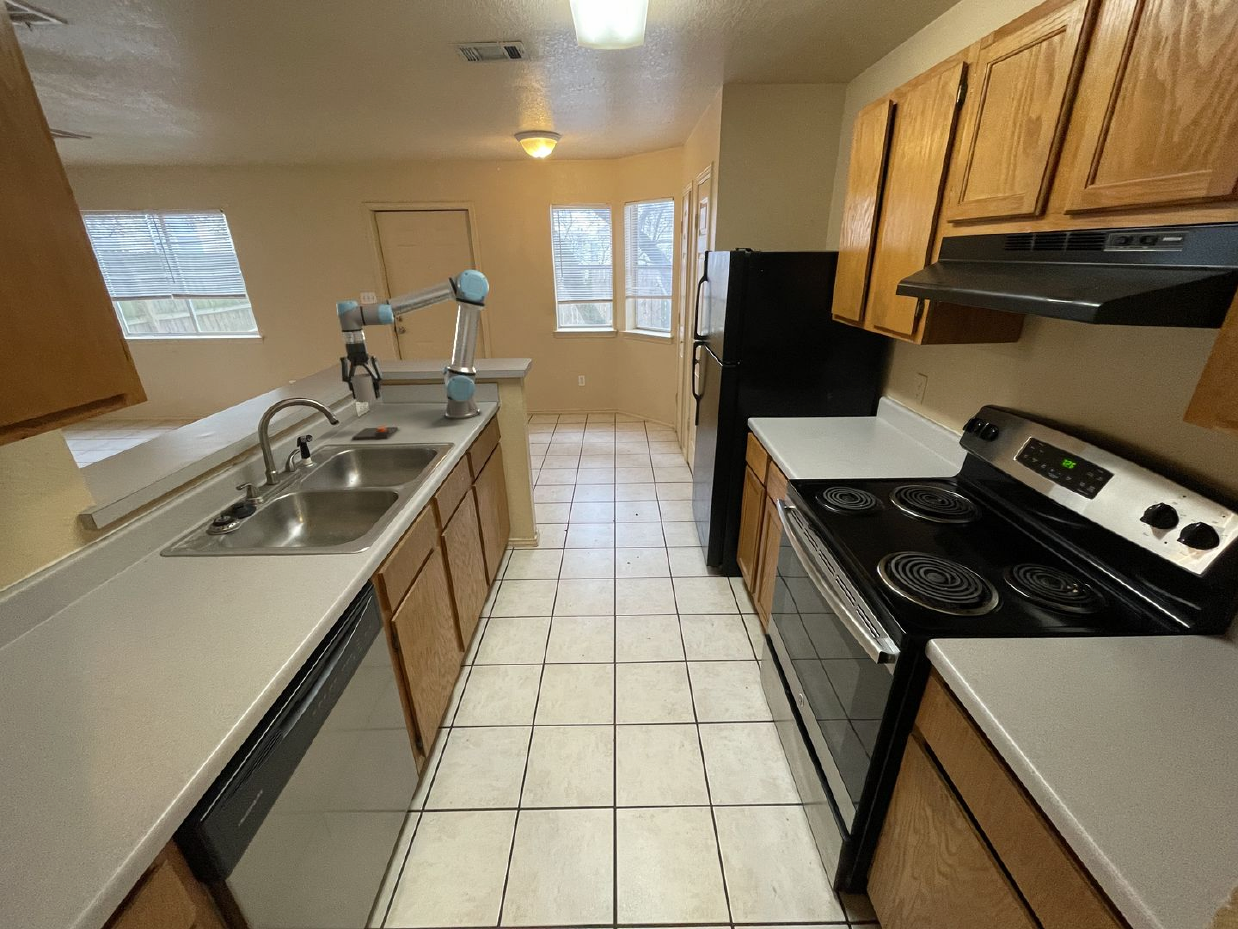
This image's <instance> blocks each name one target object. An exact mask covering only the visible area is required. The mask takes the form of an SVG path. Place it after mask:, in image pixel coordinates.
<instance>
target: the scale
mask: <svg viewBox="0 0 1238 929" xmlns="http://www.w3.org/2000/svg"><path fill="white" fill-rule="evenodd" d="M385 427H386V431H384V432H378V428H379V427H364V428H363V429H362V430H360V431H359V432H357V433H356V434H354V436H352V441H364V440H365V441H369V440H373V441H374V440H388V439H389V438H390V437H391V436H392V435H394V434H395V433H396V432H397V431H398V430H399V427H398V426H385Z"/></svg>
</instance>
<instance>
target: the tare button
mask: <svg viewBox="0 0 1238 929" xmlns="http://www.w3.org/2000/svg"><path fill="white" fill-rule="evenodd" d="M386 427H387V426H379V427H377V428H378V432H384V431H386Z"/></svg>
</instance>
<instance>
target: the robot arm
mask: <svg viewBox="0 0 1238 929" xmlns="http://www.w3.org/2000/svg"><path fill="white" fill-rule="evenodd" d="M489 285H490V284H489V282H488V279H487V277H486V276H485V274H483V273H482V272H480V271H479V270H476V269H465V270H462V271H461V272H459V273H457V274H455V275H453V276H450V277H447V279H446V280H445V281H443V282H440V283H439V282H438V283H436V284H433V285H429V286H427V287H423V288H420V289H417V290H413V291H410V292H407V293H404V294H401V295H397V296H395V297H392V298H388V299H385V300H382V301H376V302H373V303H372V304H371V305H359V304H358V302H357V301H356V300H343V301H338V302H337V303H336V312H337V317H338V321H339V325H340V326H339V327H340V329H341V335H342V338H343V342H344V343H345V344H344V346H345V347H344V348H345V352H346V356H341V357H340V358H339V361H340V363H341V382H343V383H347V385H348V389H349V391H350V392H351V393H352V397H353V400H356V397H355V393H354V388H353V384H352V379H351V377H353V376H354V375H356V369H357V367H359V366H360V367H363V368H364V369H365V370H366V372H367V374H370V376H371V377H372V379H373V380H374V382H373V386H374V391H375V396H376V398H381V392H380V390H381V389H382V387H381V382H380V381H382V380H384V377H385V376H384V375H383V372H382V370H381V368H380V365H379V363H378V356H377V355H370V354H369V353H368V347H367V343H366V341H365V340H366V337H365V334H364V329H363V327H367V326H387V325H393V324H394V323H395V318H398V317H401V316H404V315H408V314H411V313H414V312H417V311H420V310H423V309H426V308H429V307H433V306H436V305H439V304H443V303H445V302H449V301H452V300H453V301H455V302H456V304H457V305H458V311H457V320H456V329H455V337H454V344H453V353H452V360H451V361H452V362H451V364H450V365H448V366H447V365H446V366H443V368H442V375H443V381H444V386H445V393H446V398H447V399H446V400H447V401H446V407H445V417H446V418H448V419H451V420H452V419H454V420H461V419H468V418H473V417H476V416H478V415H481V414H482V413H481V412H480V408H479V405H478V403H477V402H476V399H475V398H474V394H475V391H476V385H475V382H476V381H475V380H476V375H477V374H476V373H477V371H476V370H475V368H474V362H475V361H474V360H475V355H476V346H477V338H478V331H479V323H480V315H481V311H482V310H483V309H485V307H486V300H487V296H488V294H489V291H490V290H489V289H490V286H489ZM369 361H370V362H371V363H370V362H369ZM348 362H350V365H349V367H348ZM371 365H372V366H371ZM348 368H349V370H348Z"/></svg>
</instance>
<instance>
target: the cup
mask: <svg viewBox="0 0 1238 929" xmlns="http://www.w3.org/2000/svg"><path fill="white" fill-rule="evenodd" d="M351 379H352V384H353V388H354V393H355V397H356V399H355V401H356V402H357V403H370V402H375V401H377V400H379V398H380V397H379V398H376V396H375V391H374V386H373V382H374V380H373V379H372V377H371V376H370V374H369V373H360V374H359V373H358V374H354V376H353V377H351Z"/></svg>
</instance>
